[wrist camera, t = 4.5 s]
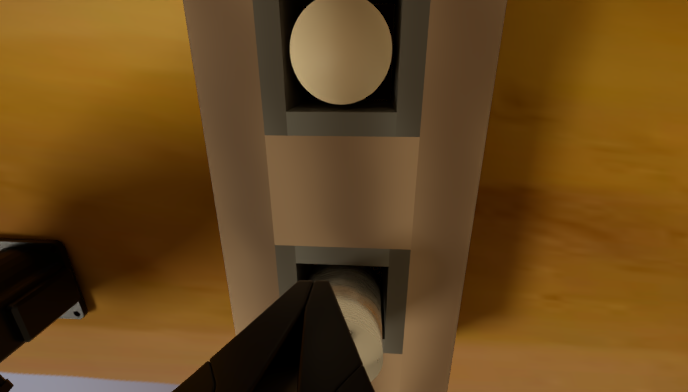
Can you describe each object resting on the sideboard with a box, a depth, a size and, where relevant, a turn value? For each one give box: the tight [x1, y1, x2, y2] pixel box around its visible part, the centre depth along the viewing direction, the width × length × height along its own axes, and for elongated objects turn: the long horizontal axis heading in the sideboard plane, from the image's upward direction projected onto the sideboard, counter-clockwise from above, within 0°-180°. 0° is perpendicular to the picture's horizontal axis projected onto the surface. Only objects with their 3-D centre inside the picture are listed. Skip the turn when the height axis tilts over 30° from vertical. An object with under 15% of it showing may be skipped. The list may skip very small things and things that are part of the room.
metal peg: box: [308, 264, 383, 382], centre depth 16 cm, size 4×4×5 cm
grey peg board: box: [183, 0, 507, 392], centre depth 18 cm, size 12×26×5 cm, turn 0°
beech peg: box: [290, 0, 392, 105], centre depth 15 cm, size 4×4×5 cm
